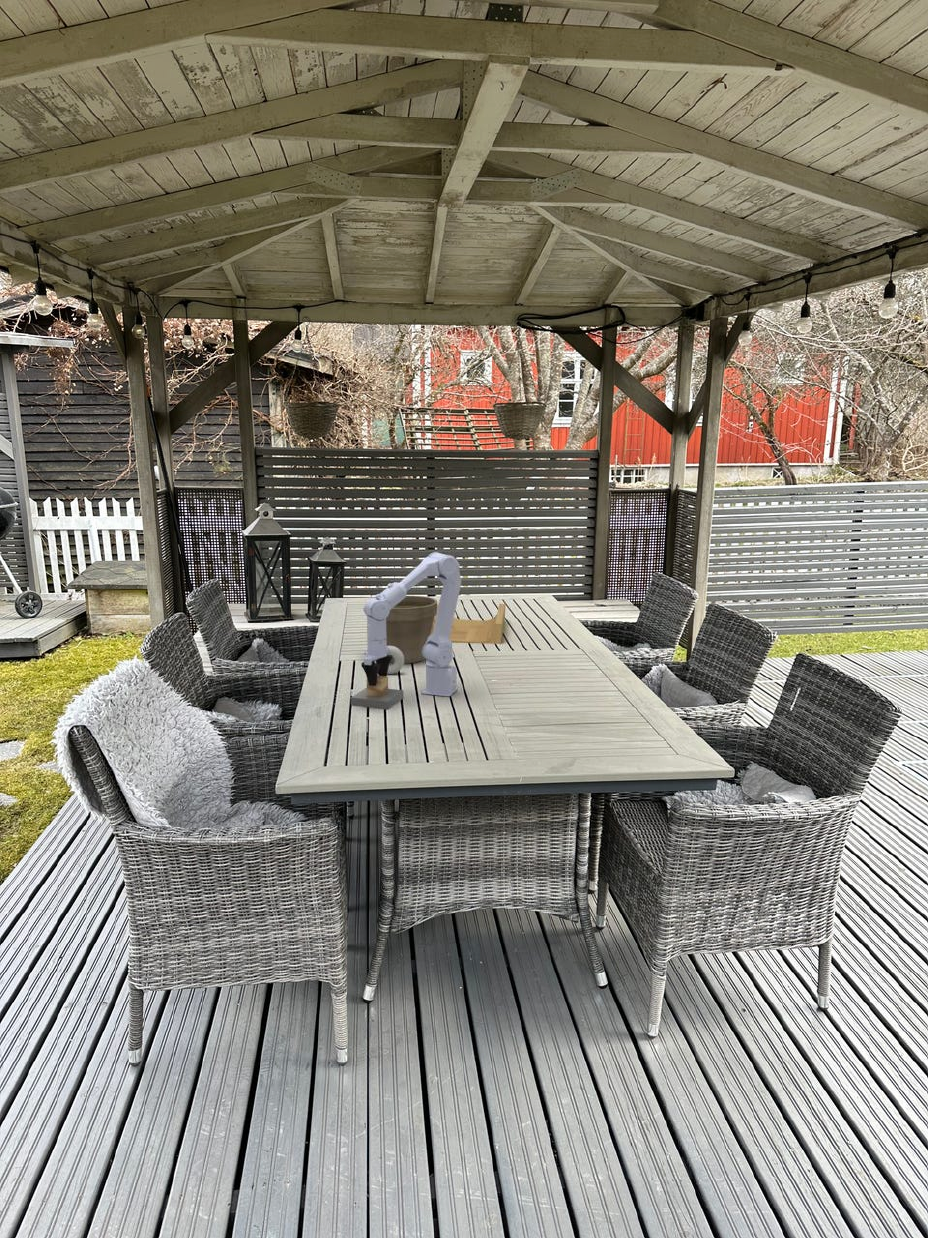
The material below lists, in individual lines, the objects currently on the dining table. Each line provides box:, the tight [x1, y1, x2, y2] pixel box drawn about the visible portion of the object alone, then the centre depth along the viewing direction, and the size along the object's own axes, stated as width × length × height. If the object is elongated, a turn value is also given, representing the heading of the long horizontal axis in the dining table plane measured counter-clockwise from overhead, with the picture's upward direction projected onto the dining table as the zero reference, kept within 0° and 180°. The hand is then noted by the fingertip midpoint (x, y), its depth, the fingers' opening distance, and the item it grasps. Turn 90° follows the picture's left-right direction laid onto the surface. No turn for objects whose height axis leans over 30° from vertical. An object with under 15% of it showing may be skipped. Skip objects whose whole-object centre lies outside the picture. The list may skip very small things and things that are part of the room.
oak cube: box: [366, 676, 389, 697], centre depth 241 cm, size 5×5×5 cm
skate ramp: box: [430, 599, 506, 645], centre depth 334 cm, size 40×35×16 cm
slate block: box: [350, 687, 405, 710], centre depth 242 cm, size 12×12×3 cm
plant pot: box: [386, 595, 438, 665], centre depth 289 cm, size 25×25×22 cm
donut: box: [387, 646, 405, 675], centre depth 270 cm, size 10×3×10 cm, turn 88°
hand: (377, 682), depth 241 cm, fingers open, 7 cm apart
